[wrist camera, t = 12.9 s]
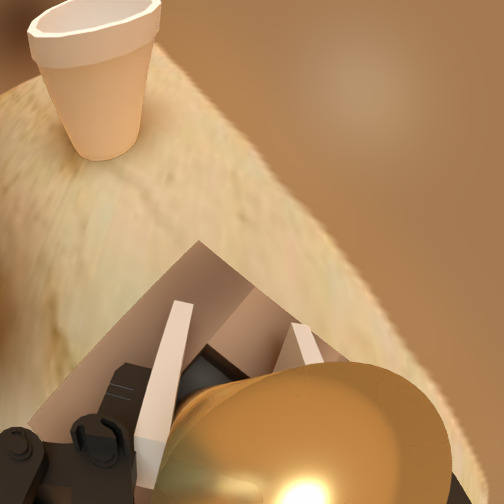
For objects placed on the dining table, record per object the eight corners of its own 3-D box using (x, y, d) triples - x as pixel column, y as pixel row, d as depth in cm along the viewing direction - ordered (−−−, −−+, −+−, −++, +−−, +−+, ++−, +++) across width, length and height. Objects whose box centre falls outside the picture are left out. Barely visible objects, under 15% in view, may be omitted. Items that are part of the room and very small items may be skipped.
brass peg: (158, 425, 14) (79, 542, 2) (204, 372, 16) (299, 292, 4) (218, 469, 14) (339, 637, 1) (262, 416, 15) (483, 439, 3)
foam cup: (175, 137, 26) (188, 6, 15) (90, 193, 22) (54, 51, 11) (120, 94, 28) (118, -16, 16) (45, 138, 23) (15, 22, 12)
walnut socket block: (67, 417, 15) (27, 423, 10) (192, 280, 21) (198, 240, 16) (226, 536, 14) (245, 578, 8) (338, 395, 20) (388, 390, 14)
